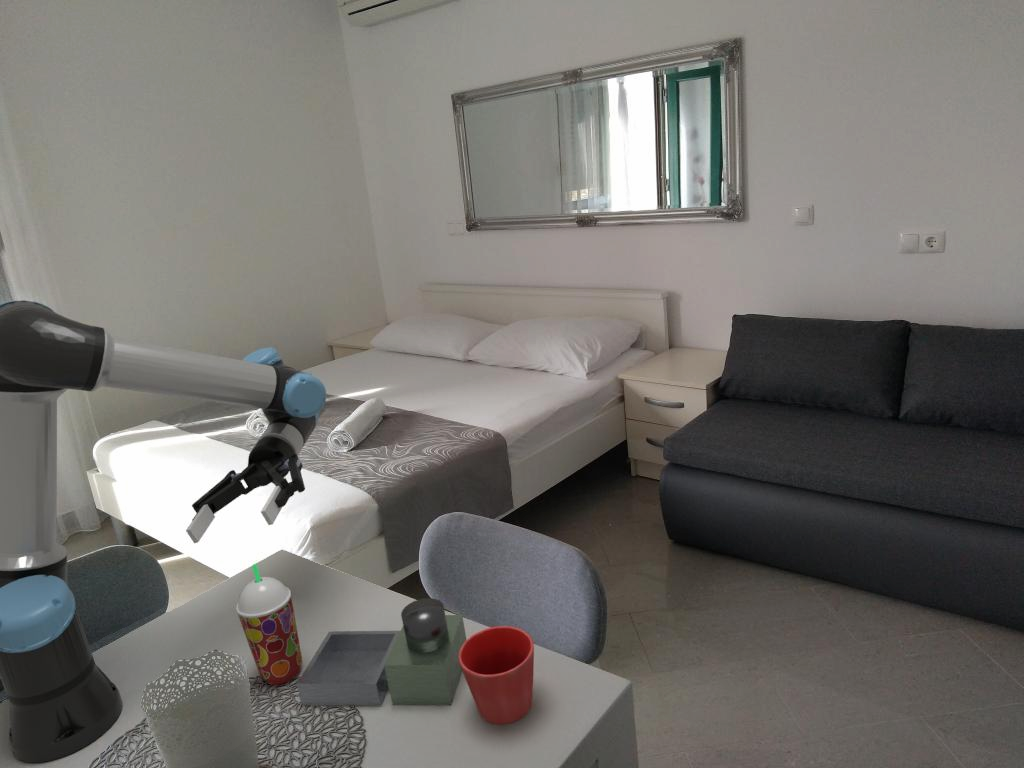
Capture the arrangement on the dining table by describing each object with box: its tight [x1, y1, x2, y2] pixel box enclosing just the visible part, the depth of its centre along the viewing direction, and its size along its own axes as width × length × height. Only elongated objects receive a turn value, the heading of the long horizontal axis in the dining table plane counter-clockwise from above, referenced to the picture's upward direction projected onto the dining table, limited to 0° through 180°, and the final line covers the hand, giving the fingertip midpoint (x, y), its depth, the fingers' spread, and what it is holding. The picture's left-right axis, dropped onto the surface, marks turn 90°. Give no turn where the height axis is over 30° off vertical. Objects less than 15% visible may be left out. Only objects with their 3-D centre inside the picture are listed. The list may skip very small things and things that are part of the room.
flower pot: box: [459, 625, 535, 726], centre depth 107 cm, size 11×11×10 cm
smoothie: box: [235, 563, 303, 685], centre depth 120 cm, size 8×8×20 cm
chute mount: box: [296, 597, 467, 707], centre depth 116 cm, size 23×13×12 cm, turn 81°
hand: (228, 527), depth 119 cm, fingers open, 13 cm apart
